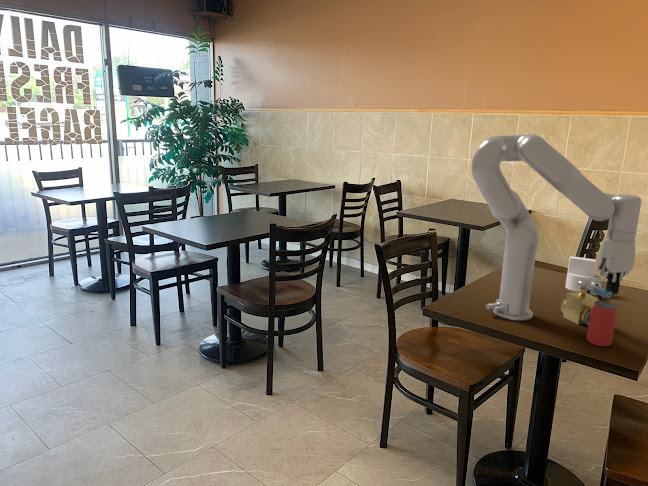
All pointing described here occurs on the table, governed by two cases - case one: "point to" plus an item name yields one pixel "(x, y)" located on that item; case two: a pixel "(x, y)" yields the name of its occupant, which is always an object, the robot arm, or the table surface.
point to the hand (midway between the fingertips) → (611, 292)
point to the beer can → (601, 323)
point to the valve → (597, 282)
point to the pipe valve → (578, 306)
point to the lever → (595, 288)
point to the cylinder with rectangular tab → (579, 271)
